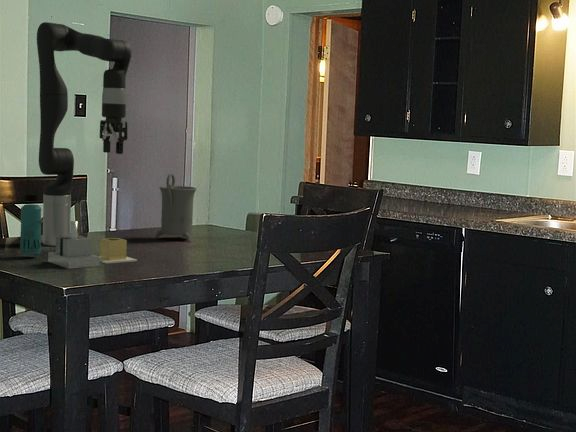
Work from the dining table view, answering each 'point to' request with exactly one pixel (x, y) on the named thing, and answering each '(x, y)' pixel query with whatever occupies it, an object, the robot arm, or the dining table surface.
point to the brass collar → (113, 248)
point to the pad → (116, 260)
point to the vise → (73, 251)
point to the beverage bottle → (30, 226)
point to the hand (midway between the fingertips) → (112, 153)
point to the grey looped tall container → (176, 209)
